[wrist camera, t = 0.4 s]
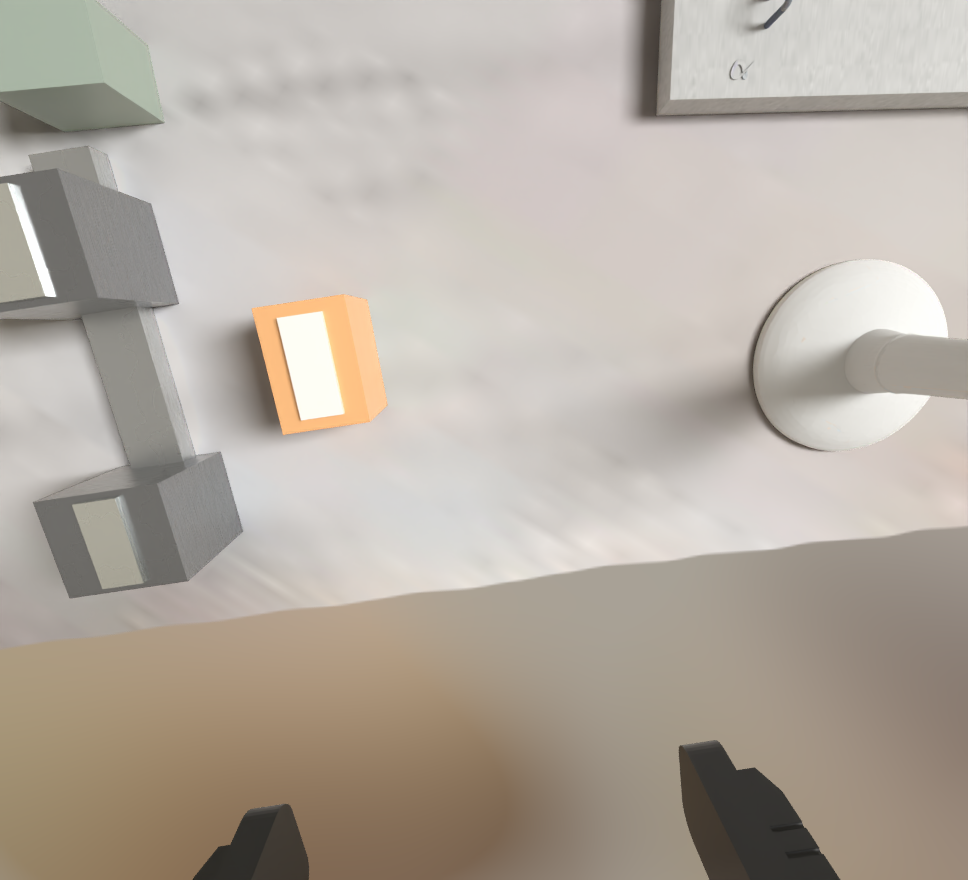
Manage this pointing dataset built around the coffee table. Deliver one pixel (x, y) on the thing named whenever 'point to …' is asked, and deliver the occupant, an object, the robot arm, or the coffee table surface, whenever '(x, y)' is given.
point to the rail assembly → (113, 376)
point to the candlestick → (855, 355)
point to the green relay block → (75, 66)
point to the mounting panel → (811, 55)
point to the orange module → (321, 362)
